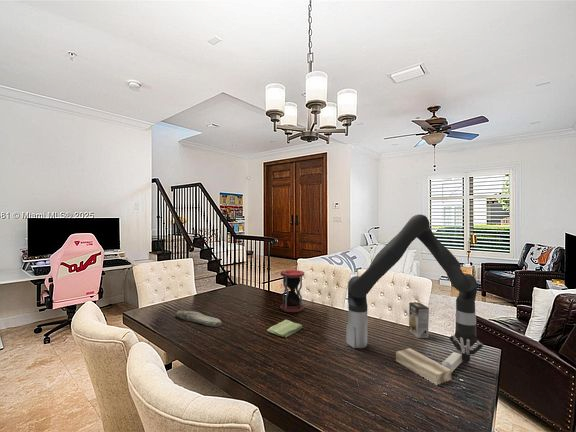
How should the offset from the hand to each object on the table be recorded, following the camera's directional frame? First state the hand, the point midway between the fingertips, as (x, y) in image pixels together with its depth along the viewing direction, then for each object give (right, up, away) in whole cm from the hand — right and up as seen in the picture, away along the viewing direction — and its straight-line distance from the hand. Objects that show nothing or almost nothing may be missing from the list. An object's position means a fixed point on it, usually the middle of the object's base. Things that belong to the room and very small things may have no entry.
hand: (466, 361), depth 122 cm
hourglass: (-74, -1, +73) cm, 104 cm away
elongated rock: (-131, -1, +49) cm, 140 cm away
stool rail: (-21, -1, -4) cm, 21 cm away
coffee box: (-6, -2, +32) cm, 33 cm away
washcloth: (-78, -2, +36) cm, 86 cm away
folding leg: (-7, -1, -1) cm, 7 cm away
